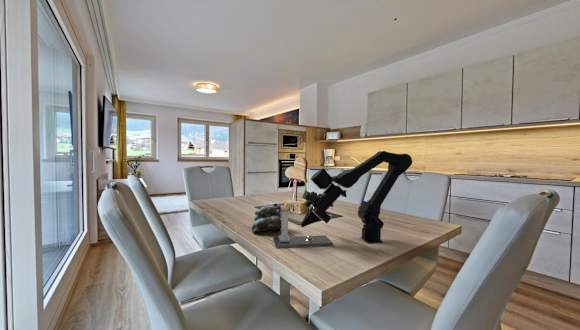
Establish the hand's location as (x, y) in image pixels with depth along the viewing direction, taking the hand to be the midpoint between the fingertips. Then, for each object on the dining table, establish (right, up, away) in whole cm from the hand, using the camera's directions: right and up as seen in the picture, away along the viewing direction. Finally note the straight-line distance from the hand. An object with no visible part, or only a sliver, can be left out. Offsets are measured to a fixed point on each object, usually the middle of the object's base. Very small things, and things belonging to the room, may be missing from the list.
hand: (301, 226), depth 92 cm
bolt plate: (0, -6, 0) cm, 6 cm away
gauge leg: (-7, -5, -1) cm, 9 cm away
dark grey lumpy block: (-15, -6, +14) cm, 22 cm away
